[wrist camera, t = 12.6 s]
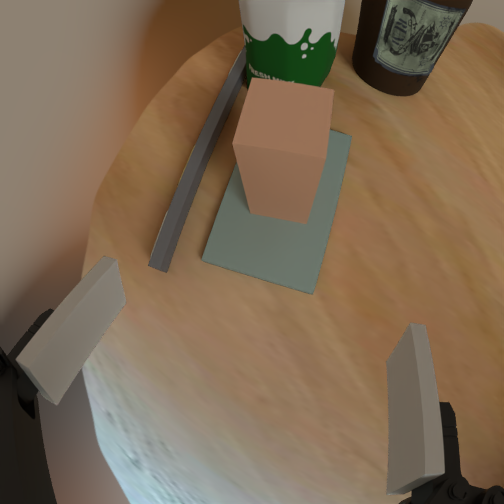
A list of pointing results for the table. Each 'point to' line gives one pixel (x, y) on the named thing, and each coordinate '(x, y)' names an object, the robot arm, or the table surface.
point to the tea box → (283, 146)
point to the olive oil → (403, 41)
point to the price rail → (196, 167)
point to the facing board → (278, 229)
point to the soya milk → (291, 39)
